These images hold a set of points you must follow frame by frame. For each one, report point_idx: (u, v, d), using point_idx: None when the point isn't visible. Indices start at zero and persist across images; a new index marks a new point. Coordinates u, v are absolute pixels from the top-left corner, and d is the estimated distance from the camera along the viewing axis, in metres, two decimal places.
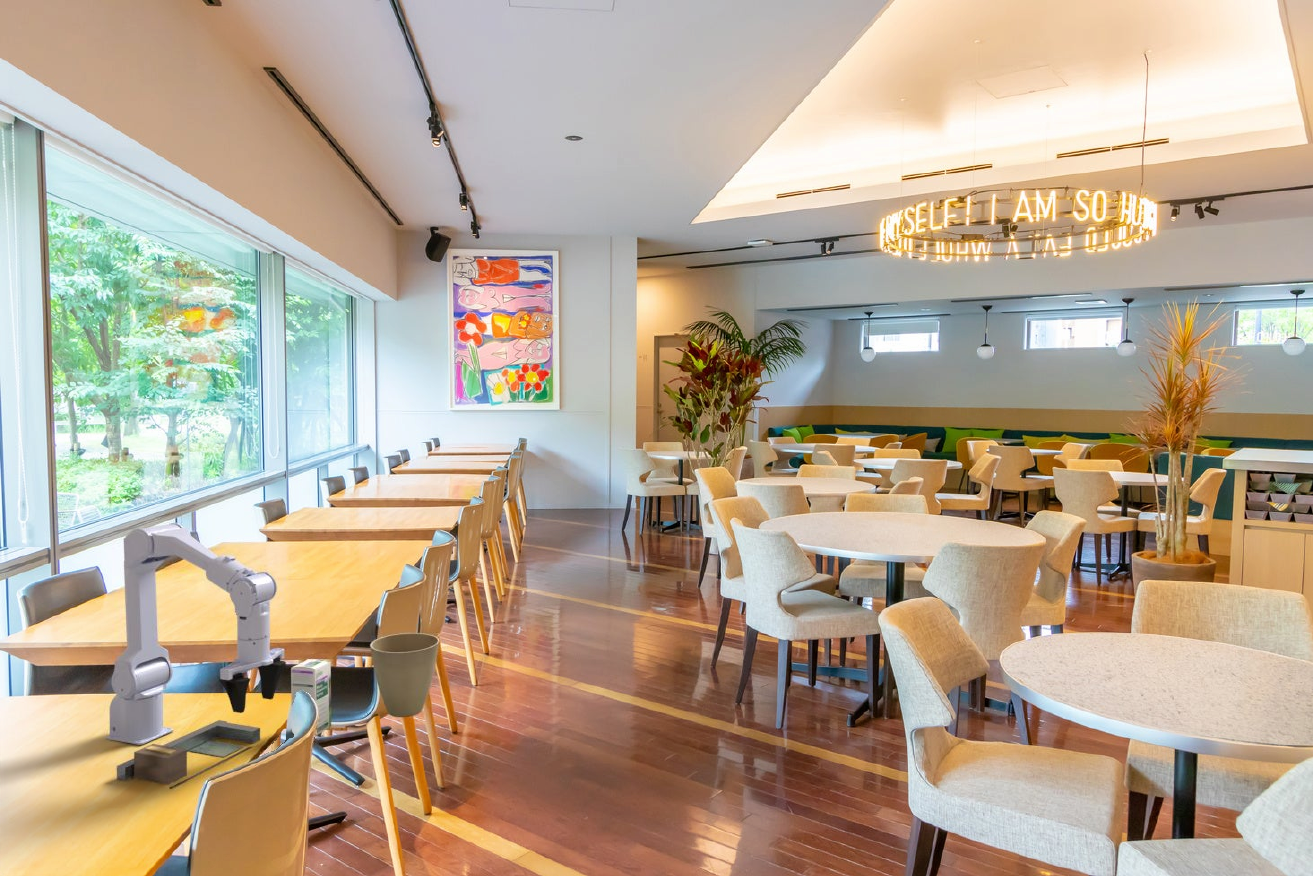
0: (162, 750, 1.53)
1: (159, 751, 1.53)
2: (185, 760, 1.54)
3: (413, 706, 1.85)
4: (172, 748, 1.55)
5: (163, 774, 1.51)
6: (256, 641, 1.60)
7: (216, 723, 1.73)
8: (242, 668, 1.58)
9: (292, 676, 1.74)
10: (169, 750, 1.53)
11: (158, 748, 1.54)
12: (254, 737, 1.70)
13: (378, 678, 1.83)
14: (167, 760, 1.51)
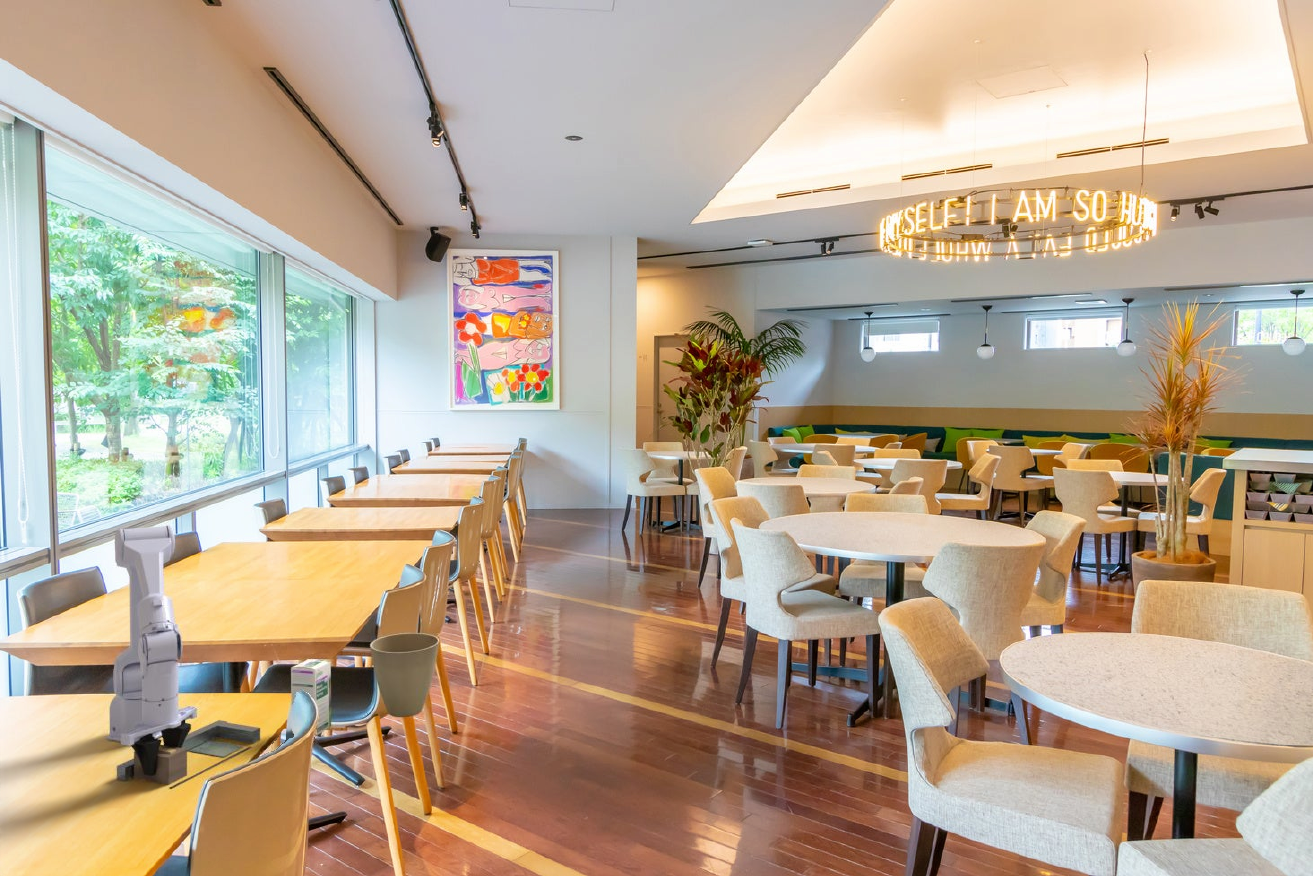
0: (162, 749, 1.53)
1: (159, 750, 1.53)
2: (185, 759, 1.54)
3: (413, 706, 1.85)
4: (172, 747, 1.55)
5: (163, 773, 1.51)
6: (162, 702, 1.51)
7: (216, 723, 1.73)
8: (145, 732, 1.49)
9: (292, 676, 1.74)
10: (169, 750, 1.53)
11: None
12: (254, 737, 1.70)
13: (378, 678, 1.83)
14: (167, 759, 1.51)
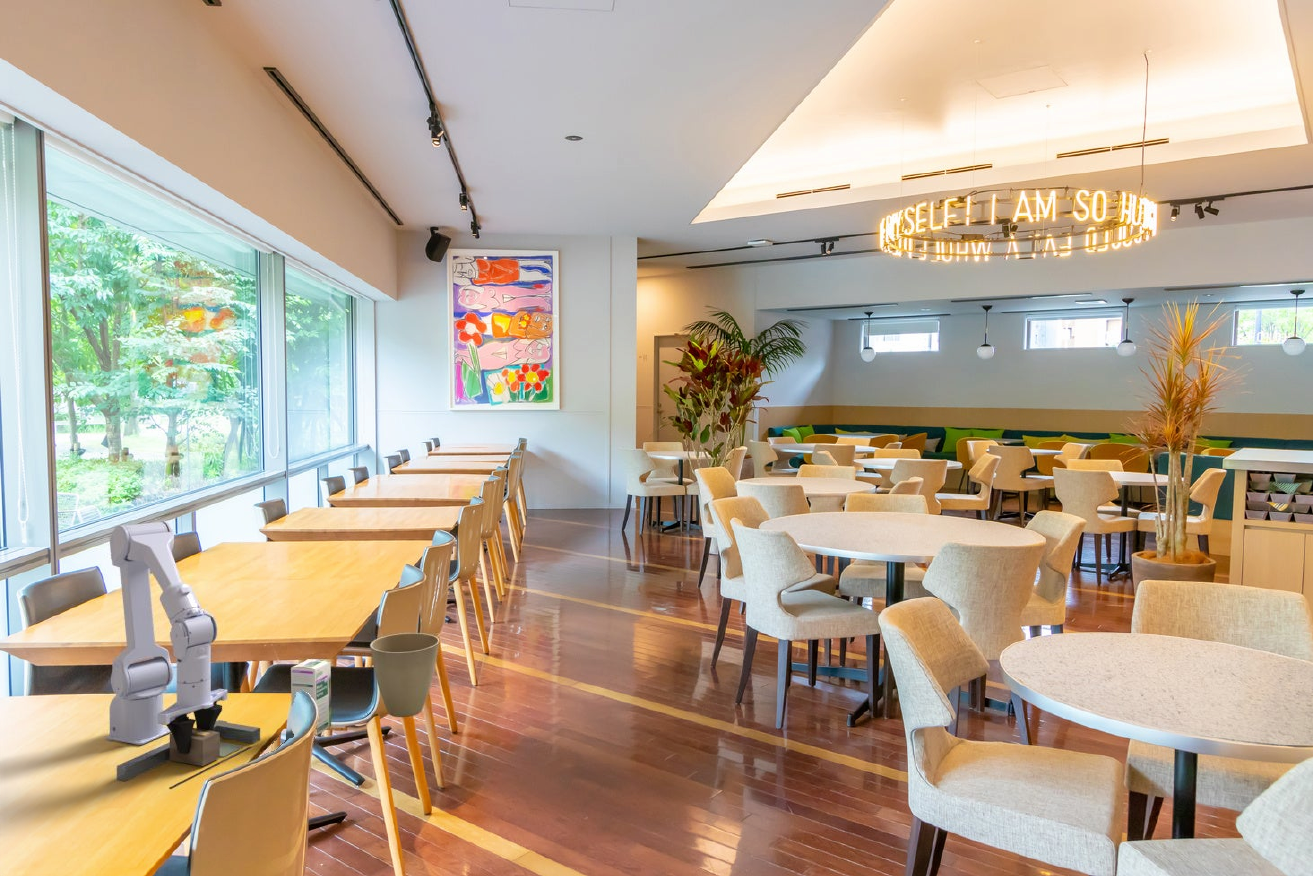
0: (196, 732, 1.60)
1: (193, 733, 1.60)
2: (218, 742, 1.61)
3: (413, 706, 1.85)
4: (205, 731, 1.62)
5: (197, 755, 1.58)
6: (195, 684, 1.58)
7: (216, 723, 1.73)
8: (180, 712, 1.56)
9: (292, 676, 1.74)
10: (203, 733, 1.60)
11: (192, 730, 1.61)
12: (254, 737, 1.70)
13: (378, 678, 1.83)
14: (201, 742, 1.58)
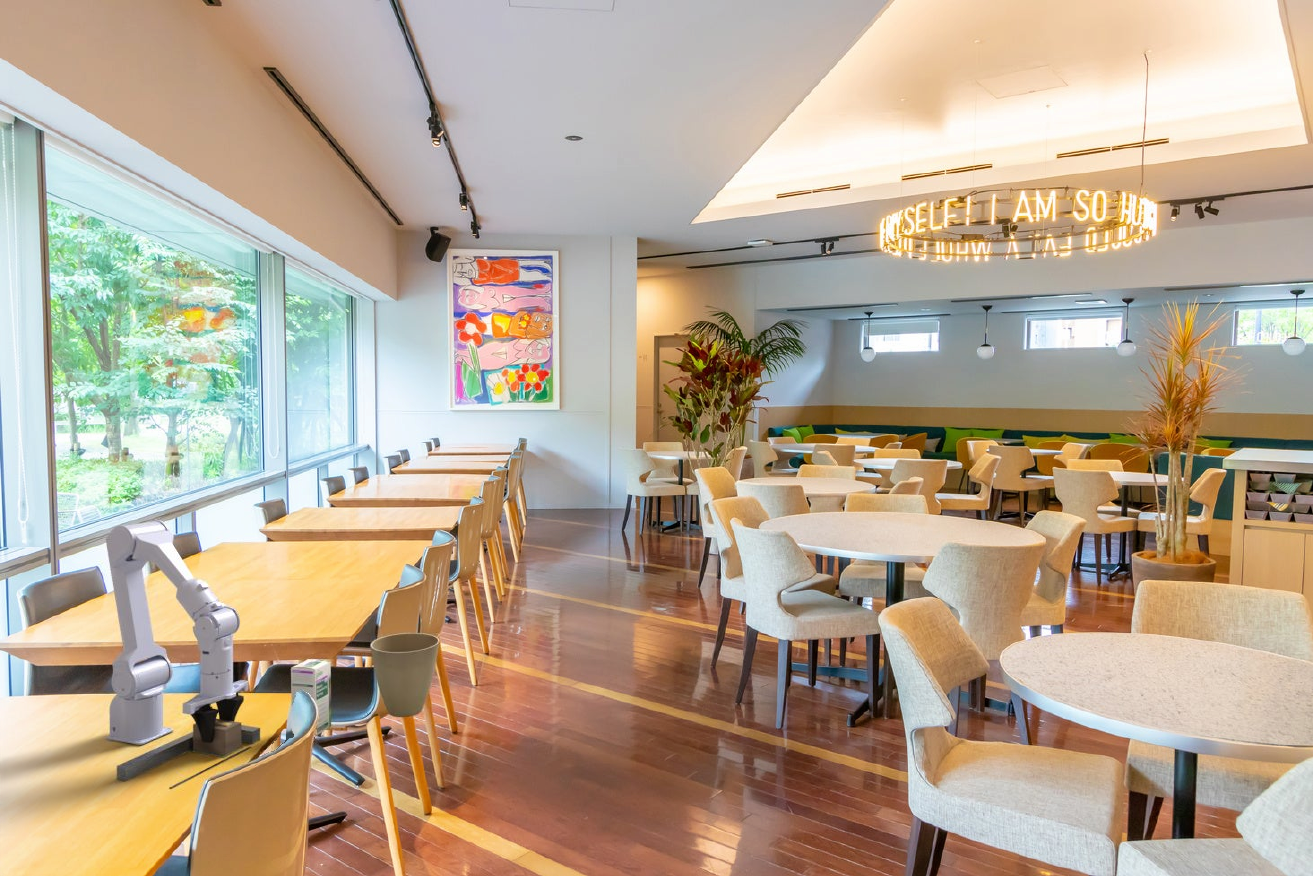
0: (219, 722, 1.66)
1: (216, 723, 1.65)
2: (240, 732, 1.66)
3: (413, 706, 1.85)
4: (227, 721, 1.67)
5: (220, 744, 1.63)
6: (219, 675, 1.63)
7: None
8: (204, 702, 1.61)
9: (292, 676, 1.74)
10: (226, 723, 1.65)
11: (215, 721, 1.66)
12: (254, 737, 1.70)
13: (378, 678, 1.83)
14: (224, 731, 1.63)
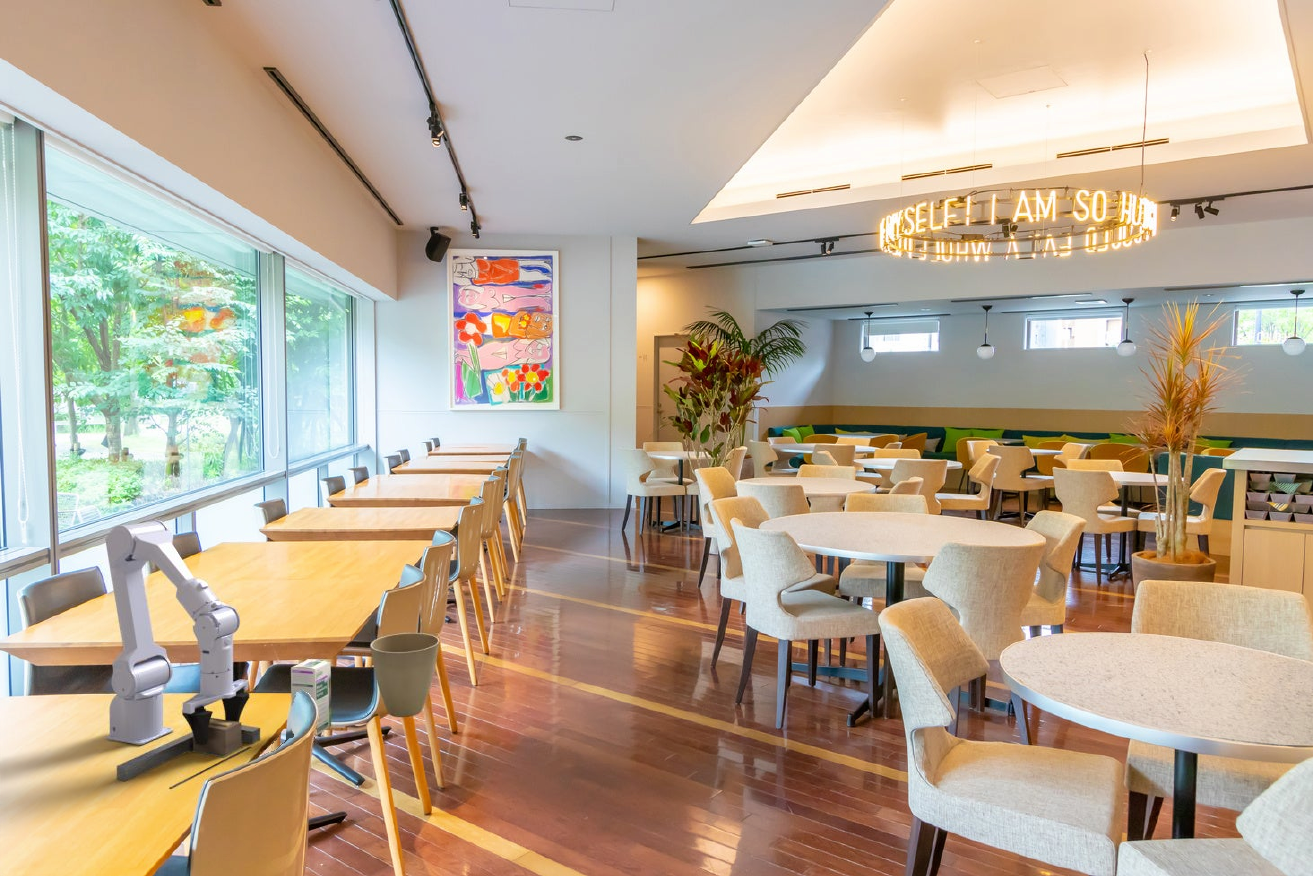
0: (219, 722, 1.66)
1: (216, 723, 1.65)
2: (240, 732, 1.66)
3: (413, 706, 1.85)
4: (227, 721, 1.67)
5: (220, 744, 1.63)
6: (219, 674, 1.63)
7: None
8: (204, 701, 1.61)
9: (292, 676, 1.74)
10: (226, 723, 1.65)
11: (215, 721, 1.66)
12: (254, 737, 1.70)
13: (378, 678, 1.83)
14: (224, 731, 1.63)
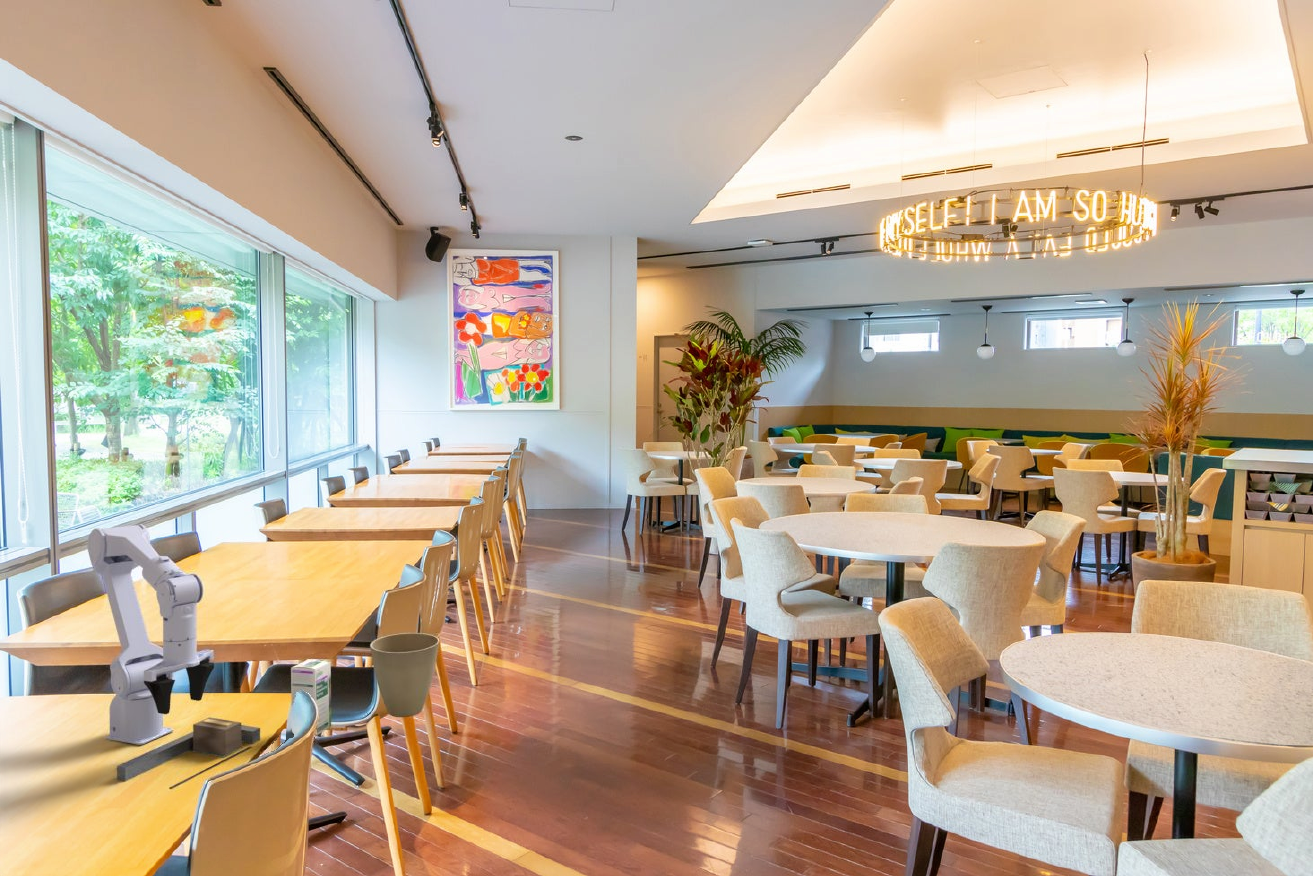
0: (219, 722, 1.66)
1: (216, 723, 1.65)
2: (240, 732, 1.66)
3: (413, 706, 1.85)
4: (227, 721, 1.67)
5: (220, 744, 1.63)
6: (181, 643, 1.61)
7: None
8: (166, 669, 1.58)
9: (292, 676, 1.74)
10: (226, 723, 1.65)
11: (215, 721, 1.66)
12: (254, 737, 1.70)
13: (378, 678, 1.83)
14: (224, 731, 1.63)
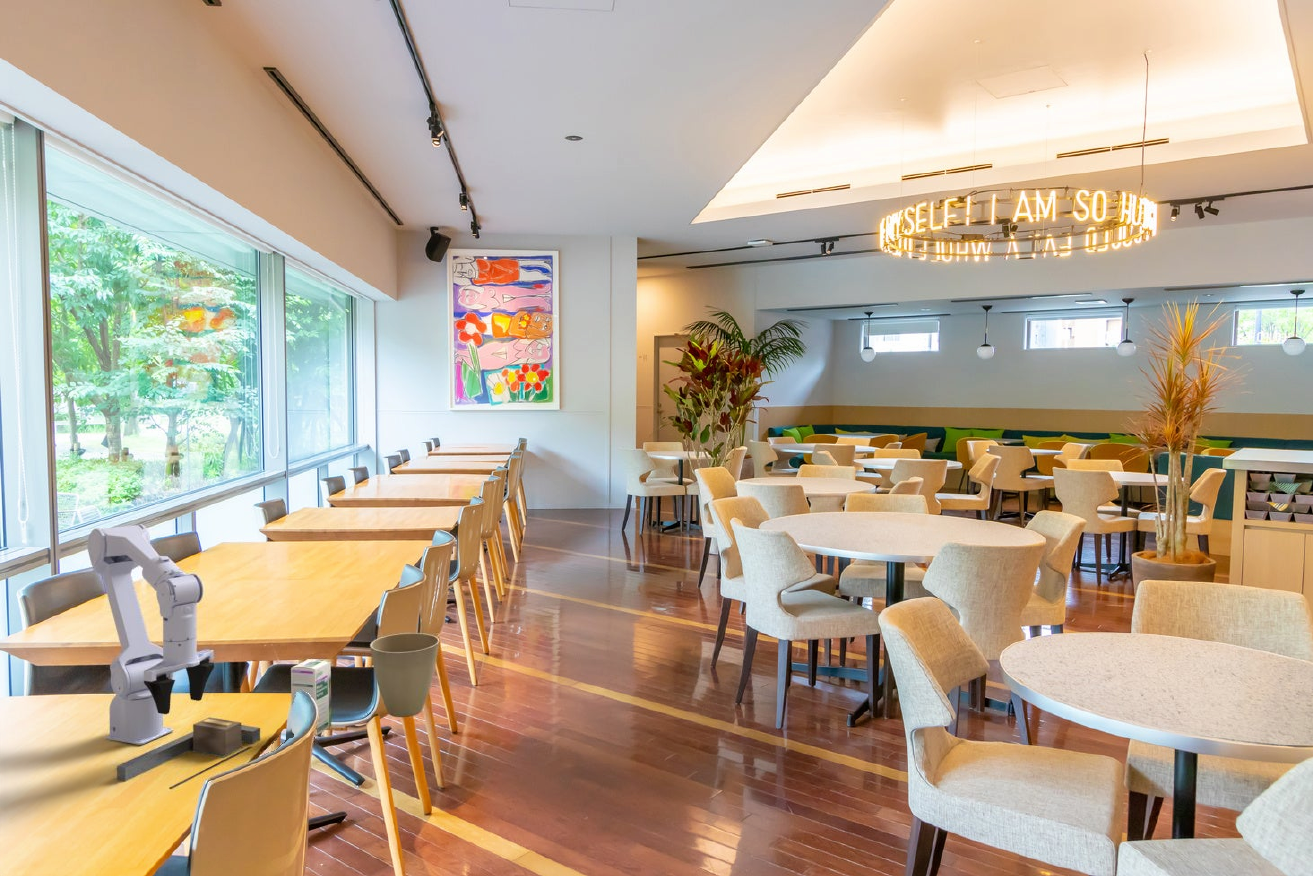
0: (219, 722, 1.66)
1: (216, 723, 1.65)
2: (240, 732, 1.66)
3: (413, 706, 1.85)
4: (227, 721, 1.67)
5: (220, 744, 1.63)
6: (181, 643, 1.61)
7: None
8: (166, 669, 1.58)
9: (292, 676, 1.74)
10: (226, 723, 1.65)
11: (215, 721, 1.66)
12: (254, 737, 1.70)
13: (378, 678, 1.83)
14: (224, 731, 1.63)
